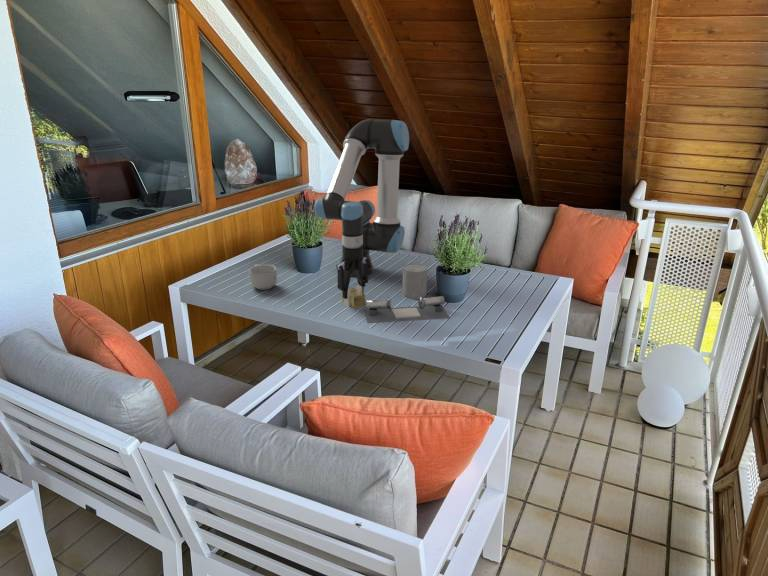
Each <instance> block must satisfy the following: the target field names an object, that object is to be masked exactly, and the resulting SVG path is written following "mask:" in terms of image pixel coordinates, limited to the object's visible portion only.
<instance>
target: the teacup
mask: <svg viewBox="0 0 768 576" xmlns="http://www.w3.org/2000/svg"><path fill="white" fill-rule="evenodd" d="M248 273H249V277H250V283H251V285H252V287H254V288H255V289H257V290H262V291H263V290H265V291H266V290H269V289H272V288H273V287H274V286H275V285H276V284H277V282H278V280H277V279H278V276H277V267H276V266H275V265H273V264H254V265H253V266H252V267H251V268H249V270H248Z"/></svg>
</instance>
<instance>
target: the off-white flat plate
mask: <svg viewBox="0 0 768 576" xmlns="http://www.w3.org/2000/svg"><path fill="white" fill-rule="evenodd" d="M392 311H393V313H394V315H395V318H411V317H420V314H419V312H418V310H417V308H401V309H392Z"/></svg>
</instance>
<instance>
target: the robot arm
mask: <svg viewBox="0 0 768 576" xmlns="http://www.w3.org/2000/svg"><path fill="white" fill-rule="evenodd" d="M409 146H410V132H409V129H408V125H407V123H405V122H404V121H403V120H396V119H377V118H376V119H374V118H367V119H364V120H361V121H360V122H358V123H357V124H355V125H354V126H353V127H352V128H351V129H350V130H349V132H348V133H347V134H346V135H345V138H344V139H343V142H342V148H343V150H342V153H341V155H340V158H339V160H338V161H337V165H336V168H335V170H334V173H333V176H332V179H331V181H330V183H329V186H328V189H327V192H326V194H325V196H324V197H321V198H320V197H319V198H318V199H316V201H315V204H314V214H315V216H316V217H317V218H319V219H324V220H334V221H341V244H342V246H341V248H342V249H341V250H342V255H341V257H340V258H341V259H340V261H339V263H337V264H336V265H335V266H336V269H337V289H338V290H340V291H341V293H342V292H343V298H344V302H343V305H345V306H347V307H351V306H350V290H348V289H349V287H350V281H351V277H356V279H357V280H356V282H357V283H358V284H356V288H355V289H356V290H358V291H359V292H361V293H363V294H364V291H365V290H364V288H365V287H366V286H367V284H368V283H369V275H371V274H372V273H373V272H374V264H373V261H372V258H371V255H370V251H374V252H381V253H382V252H383V253H386V254H388V253H389V254H392V253H393V254H394V253H398V252H399V251H400V250H401V247H402V246H403V242H404V238H405V233H406V232H405V231H406V230H405V226H403V225H401V219H400V218H399V217H398V206H399V205H398V203H399V185H400V183H399V182H400V181H399V180H400V161H401V158H403V157H404V153H405V152H406V151H408V149H409ZM368 149H373V150H374V153H375V156H376V157H377V158H378V172H377V173H378V174H377V177H378V178H377V195H376V197H377V200H376V202H377V203H376V207H375V204H374V203H373V202H372V201H370V200H368V199H363V200H360V201H351V200H346V197H347V195H348V192H349V189H350V187H351V185H352V182H353V179H354V178H355V173H356V171H357V169H358V166H359V162H360V160H361V157H362V156H364V155H365V154H366V152H367V150H368ZM375 214H376V217H374V216H375ZM373 217H374V219H373V220H372V222H371V219H372V218H373Z"/></svg>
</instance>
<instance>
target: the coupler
mask: <svg viewBox="0 0 768 576" xmlns="http://www.w3.org/2000/svg"><path fill="white" fill-rule="evenodd" d="M348 290H350V306H349V307H351V308H353V309H356V308H360V307H363V306H366V294H364V293H361V292H359V291H358V290H356V288H354V287H351V288H348ZM341 297H342V298H341V301H342V302H343V303H344V298H343V292H342V291H341Z"/></svg>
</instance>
